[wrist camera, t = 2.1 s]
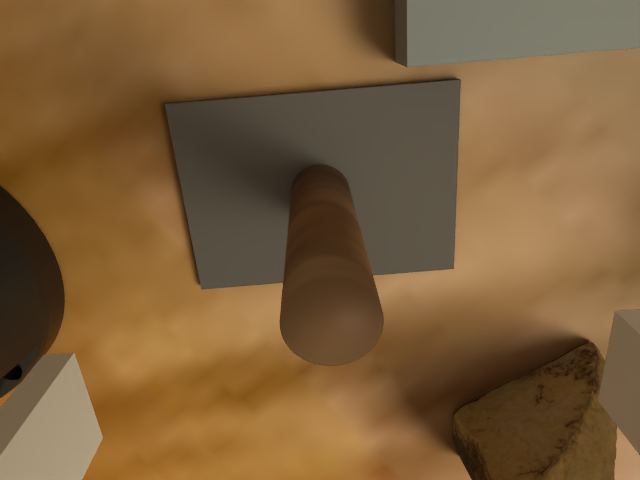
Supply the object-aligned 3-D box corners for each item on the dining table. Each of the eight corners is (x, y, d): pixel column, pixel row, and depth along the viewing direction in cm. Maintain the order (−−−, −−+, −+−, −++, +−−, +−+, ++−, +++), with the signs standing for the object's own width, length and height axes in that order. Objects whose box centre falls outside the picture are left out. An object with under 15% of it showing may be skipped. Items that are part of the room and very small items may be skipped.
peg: (294, 222, 26) (285, 369, 15) (288, 166, 25) (274, 281, 14) (351, 218, 26) (384, 361, 15) (348, 162, 25) (382, 273, 14)
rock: (636, 316, 27) (460, 363, 26) (740, 489, 22) (534, 550, 22) (561, 369, 36) (430, 404, 35) (624, 497, 32) (478, 540, 31)
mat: (202, 285, 28) (201, 289, 27) (166, 103, 24) (164, 104, 23) (451, 265, 28) (453, 268, 27) (458, 78, 23) (460, 79, 23)
